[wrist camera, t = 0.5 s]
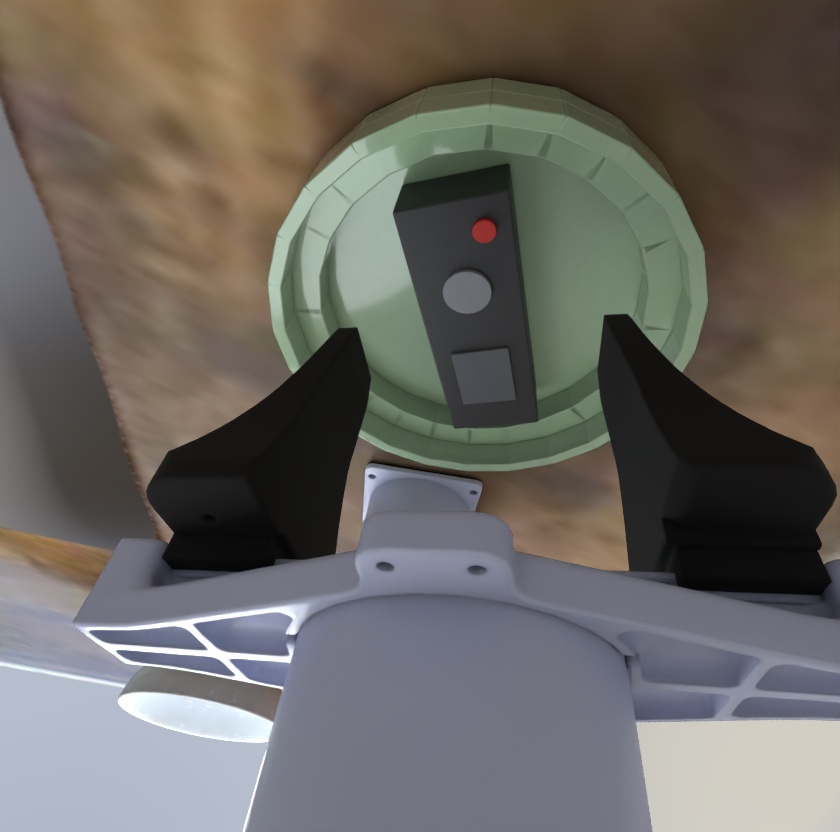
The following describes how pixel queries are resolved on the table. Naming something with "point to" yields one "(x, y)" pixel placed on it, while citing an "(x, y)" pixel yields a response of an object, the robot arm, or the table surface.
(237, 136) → the table surface
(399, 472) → the robot arm
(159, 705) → the serving bowl
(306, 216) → the dish
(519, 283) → the remote
